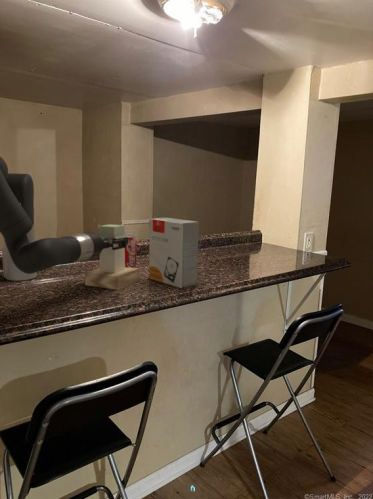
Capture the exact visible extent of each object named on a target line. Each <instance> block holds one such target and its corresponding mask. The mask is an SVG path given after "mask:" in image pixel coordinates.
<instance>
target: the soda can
mask: <svg viewBox="0 0 373 499" xmlns="http://www.w3.org/2000/svg"><path fill="white" fill-rule="evenodd" d="M125 237H128V239H129V243H128V244H127V247H126V248H125V267H129V268H137V264H138V263H137V256H138V249H137V248H138V246H137V245H138V244H137V243H138V242H137V239H136V235H133V234H125ZM137 269H138V268H137Z"/></svg>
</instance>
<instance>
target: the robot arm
mask: <svg viewBox="0 0 373 499" xmlns="http://www.w3.org/2000/svg"><path fill="white" fill-rule="evenodd" d="M8 168H9V167H8V164H7V162H6V161H5V159H4V158H3V157H1V156H0V234H1V235H2V237H3V248H2V249H1V254H2V256H1V257H2V270H3V278H5V279H6V280H9V281H27V280H32V279H35V278H37V273H38V272H41V271H45V270H47V269H51V268H54V267H56V266H60V265H62V266H63V265H67V264H72V263H77V262H83V261H86V260H87V261H88V260H90V259H93V258H97V257H100V253H101V252H102V251H103V250H106V249H112V250H117V249H121V248H126V247H127V244H128V243H129V239H128V237H123V238H114V237H100V236H99V233H98V234H97V233H96V232H95V231H85V232H80V233H79V232H78V233H73V234H70V235H67V236H62V237H46V238H40V239H37V240H36V239H35V238H36V237H35V220H34V219H35V205H34V203H35V202H34V200H35V198H34V197H35V195H34V194H35V190H34V189H35V186H34V182H33V181H34V180H33V177H32V176H31V175H30V174H27V173H15V172H14V173H9V169H8ZM109 239H111V240H112V243H110V241H109Z"/></svg>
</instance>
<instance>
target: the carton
mask: <svg viewBox="0 0 373 499" xmlns="http://www.w3.org/2000/svg"><path fill="white" fill-rule="evenodd" d="M98 235H99V236H100V237H114V238H123V237H125V235H126V234H125V225H122V224H104V225H98ZM109 241H110V243H112V240H111V239H109ZM99 268H100V271H101V272H109V273H117V272H120V271H123V270H125V248H121V249H117V250H112V249H106V250H103V251H102V252H101V253H100V255H99Z"/></svg>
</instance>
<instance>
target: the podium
mask: <svg viewBox="0 0 373 499" xmlns="http://www.w3.org/2000/svg"><path fill="white" fill-rule="evenodd" d="M138 282H140V268H129V267H125V270H123V271H120V272H117V273H109V272H101V271H100V267H97V268H94V269H91V270H87V271H84V286H89V287H97V288H103V289H110V290H116V291H118V290H121V289H123V288H127V287H128V286H131V285H133V284H135V283H138Z"/></svg>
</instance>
